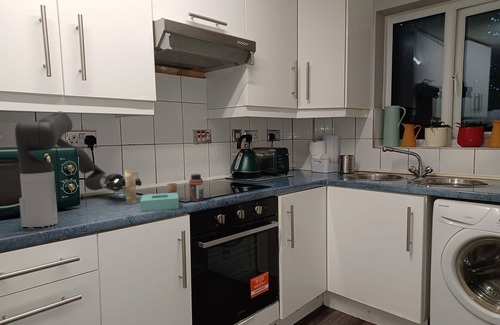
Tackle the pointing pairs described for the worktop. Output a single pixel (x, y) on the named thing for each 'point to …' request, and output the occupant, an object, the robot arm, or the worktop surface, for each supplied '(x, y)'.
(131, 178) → the tall peg
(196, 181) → the supplement bottle
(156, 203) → the socket block
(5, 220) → the worktop surface
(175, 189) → the short peg
